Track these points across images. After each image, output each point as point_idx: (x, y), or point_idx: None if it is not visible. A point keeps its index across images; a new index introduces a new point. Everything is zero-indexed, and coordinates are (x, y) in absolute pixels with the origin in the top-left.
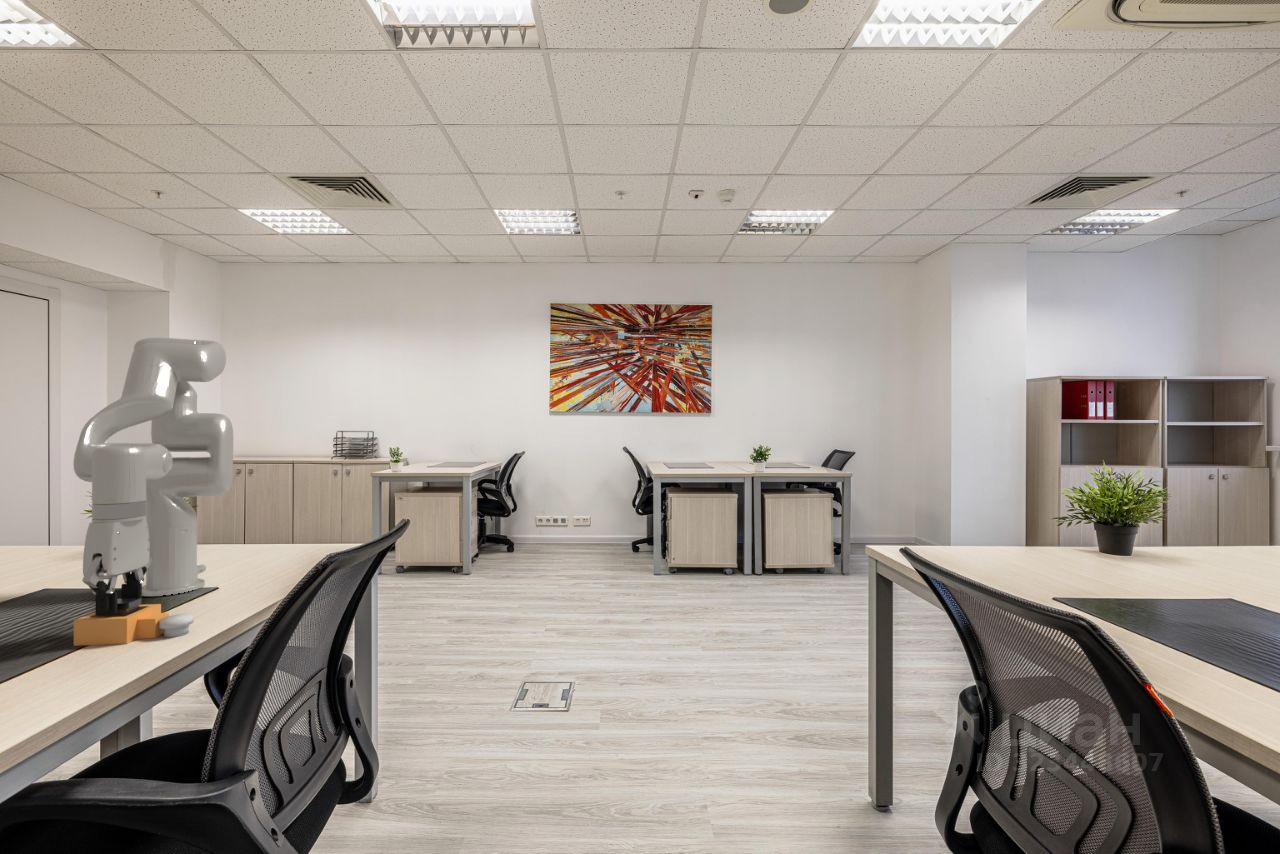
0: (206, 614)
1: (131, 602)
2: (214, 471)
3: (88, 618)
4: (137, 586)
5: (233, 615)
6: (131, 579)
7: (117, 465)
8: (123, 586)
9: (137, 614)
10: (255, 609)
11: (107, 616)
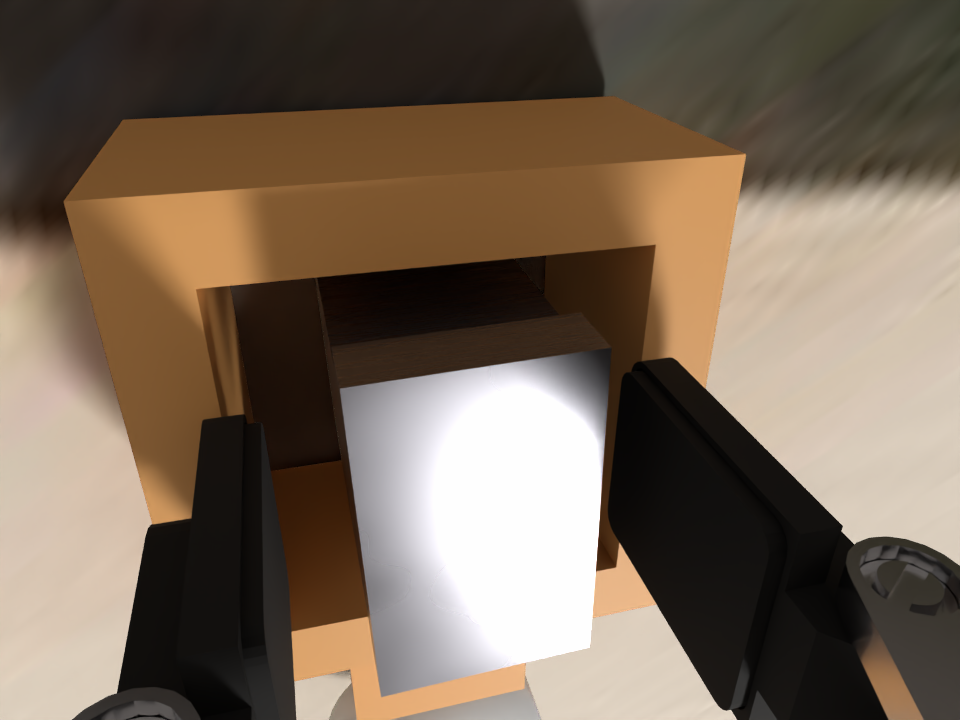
0: (831, 511)
1: (421, 684)
2: None
3: (165, 337)
4: (715, 696)
5: None
6: (848, 694)
7: None
8: (752, 556)
9: (348, 667)
10: None
11: (337, 408)
